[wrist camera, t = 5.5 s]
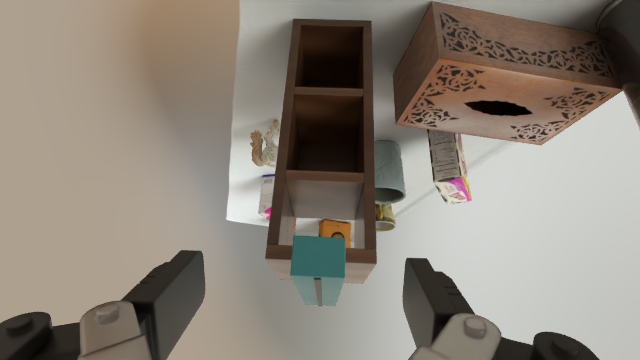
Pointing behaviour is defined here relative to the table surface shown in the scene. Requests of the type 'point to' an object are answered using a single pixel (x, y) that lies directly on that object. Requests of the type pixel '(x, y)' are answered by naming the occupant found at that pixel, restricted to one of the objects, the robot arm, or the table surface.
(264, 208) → the supplement box
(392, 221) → the ceramic cup
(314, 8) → the table surface
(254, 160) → the unicorn figurine
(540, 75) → the tissue box cover
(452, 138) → the candy bar box
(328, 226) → the coffee package
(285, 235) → the shelf
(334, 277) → the pencil case
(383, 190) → the grey flower pot
